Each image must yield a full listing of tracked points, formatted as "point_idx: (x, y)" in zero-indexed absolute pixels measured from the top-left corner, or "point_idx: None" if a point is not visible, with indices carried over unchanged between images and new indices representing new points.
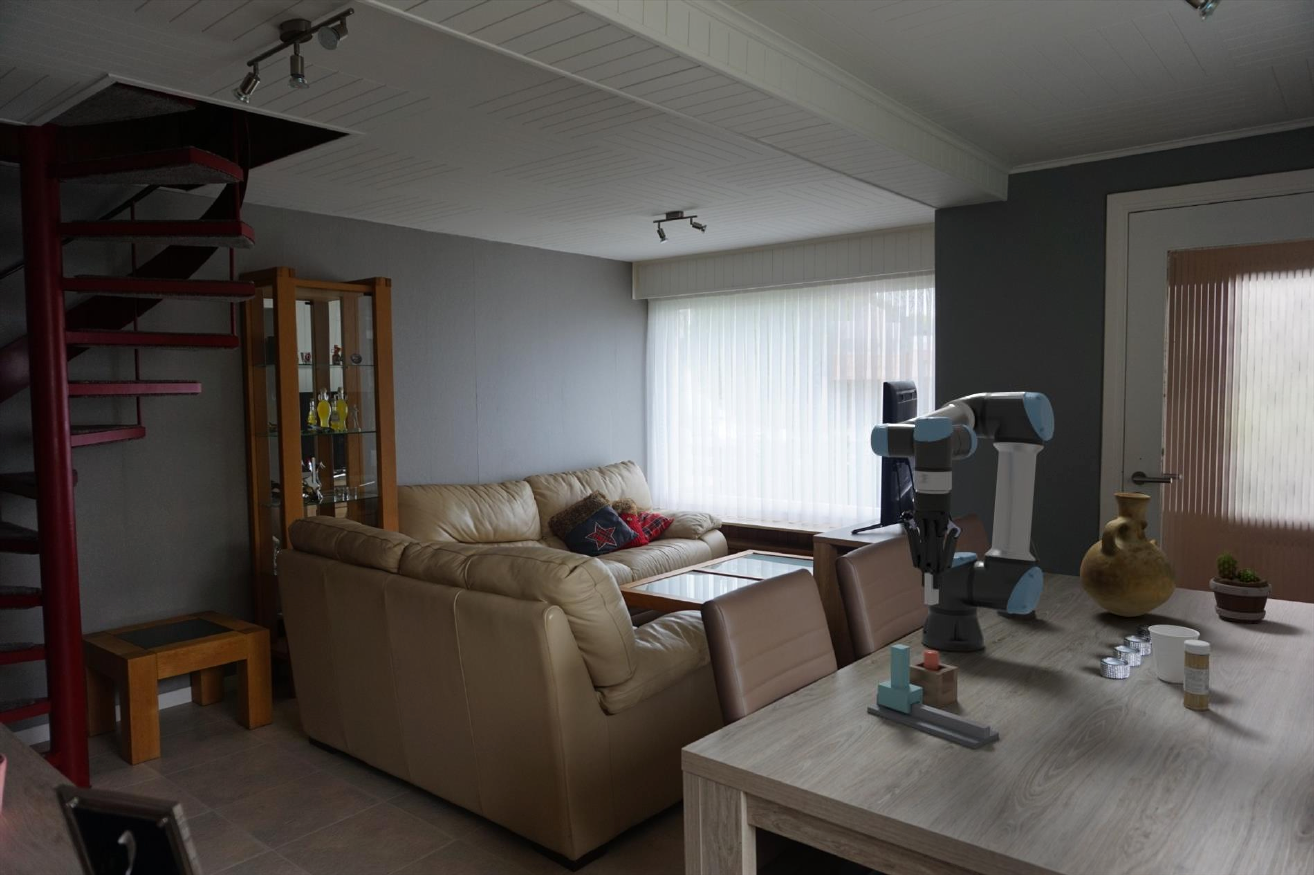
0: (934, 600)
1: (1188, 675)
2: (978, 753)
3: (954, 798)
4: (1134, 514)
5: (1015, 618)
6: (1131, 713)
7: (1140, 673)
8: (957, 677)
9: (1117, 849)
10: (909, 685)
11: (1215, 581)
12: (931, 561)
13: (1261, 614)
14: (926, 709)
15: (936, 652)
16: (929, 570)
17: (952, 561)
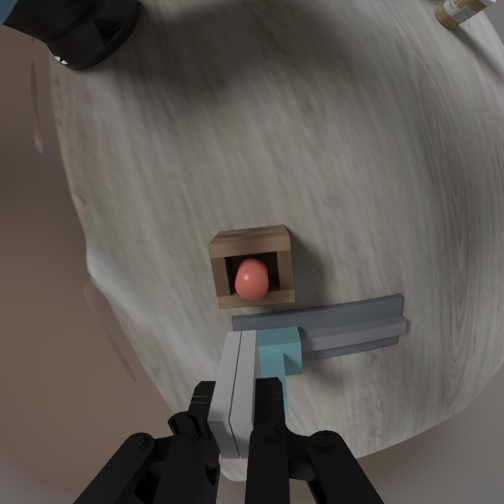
0: (258, 359)
1: (466, 13)
2: (401, 344)
3: (414, 409)
4: None
5: None
6: (437, 77)
7: None
8: (287, 231)
9: (495, 363)
10: (283, 353)
11: None
12: (202, 473)
13: None
14: (322, 348)
15: (260, 277)
16: (213, 444)
17: (364, 475)
